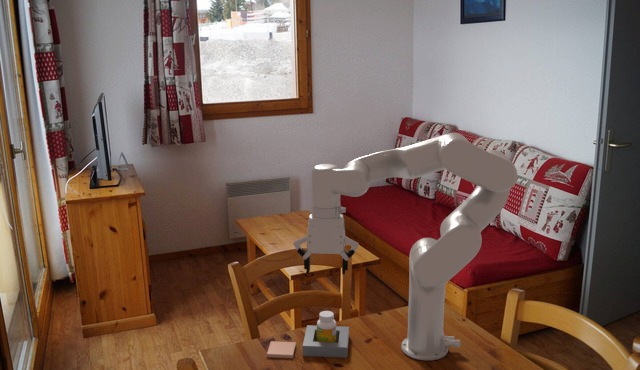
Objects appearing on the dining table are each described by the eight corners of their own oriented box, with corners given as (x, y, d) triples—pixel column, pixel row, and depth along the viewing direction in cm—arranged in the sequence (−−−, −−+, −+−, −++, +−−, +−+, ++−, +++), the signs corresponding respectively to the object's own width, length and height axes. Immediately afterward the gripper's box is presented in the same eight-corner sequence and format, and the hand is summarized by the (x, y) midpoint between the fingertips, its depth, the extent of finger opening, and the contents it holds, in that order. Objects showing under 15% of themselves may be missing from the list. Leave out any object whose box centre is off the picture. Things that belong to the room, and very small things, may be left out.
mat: (295, 345, 180) (295, 342, 180) (292, 358, 173) (292, 354, 173) (271, 344, 180) (270, 341, 180) (267, 357, 174) (266, 353, 173)
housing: (348, 336, 185) (349, 326, 184) (347, 357, 173) (347, 347, 173) (307, 334, 186) (307, 325, 185) (302, 355, 174) (302, 345, 174)
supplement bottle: (313, 347, 178) (313, 315, 176) (322, 339, 183) (322, 308, 181) (330, 352, 176) (330, 319, 174) (339, 343, 181) (339, 312, 178)
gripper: (359, 208, 173) (358, 267, 177) (295, 206, 174) (295, 266, 178) (358, 216, 165) (357, 278, 170) (291, 214, 167) (292, 276, 171)
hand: (326, 272), depth 174 cm, fingers open, 9 cm apart
